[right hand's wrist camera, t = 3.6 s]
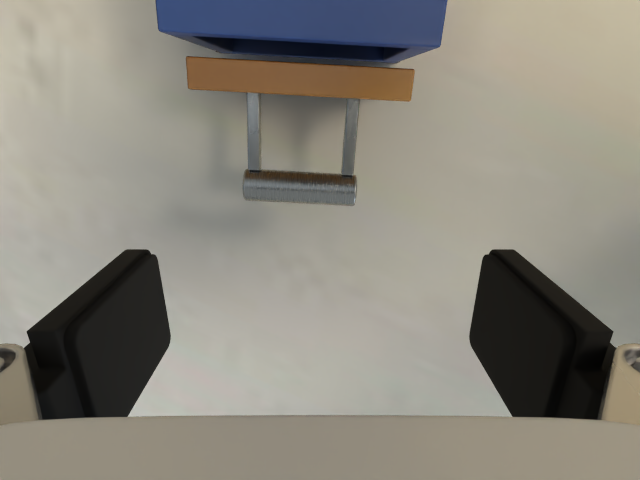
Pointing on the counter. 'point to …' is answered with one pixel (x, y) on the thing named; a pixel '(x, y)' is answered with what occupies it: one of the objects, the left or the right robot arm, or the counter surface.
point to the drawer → (301, 82)
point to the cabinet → (308, 27)
